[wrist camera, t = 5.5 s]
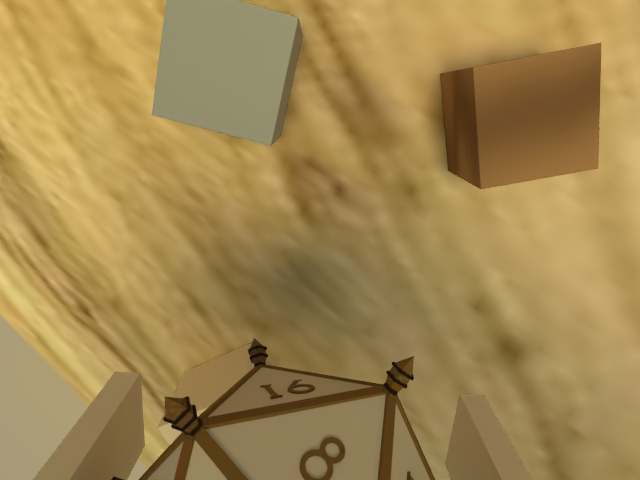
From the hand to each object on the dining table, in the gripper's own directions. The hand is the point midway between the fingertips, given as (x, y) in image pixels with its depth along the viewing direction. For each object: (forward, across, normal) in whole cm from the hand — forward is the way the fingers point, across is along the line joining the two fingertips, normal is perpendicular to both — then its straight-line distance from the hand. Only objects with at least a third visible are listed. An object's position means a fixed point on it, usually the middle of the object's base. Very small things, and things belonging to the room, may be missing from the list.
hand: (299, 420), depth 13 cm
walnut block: (+12, -9, -10) cm, 18 cm away
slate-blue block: (+12, +4, -11) cm, 17 cm away
